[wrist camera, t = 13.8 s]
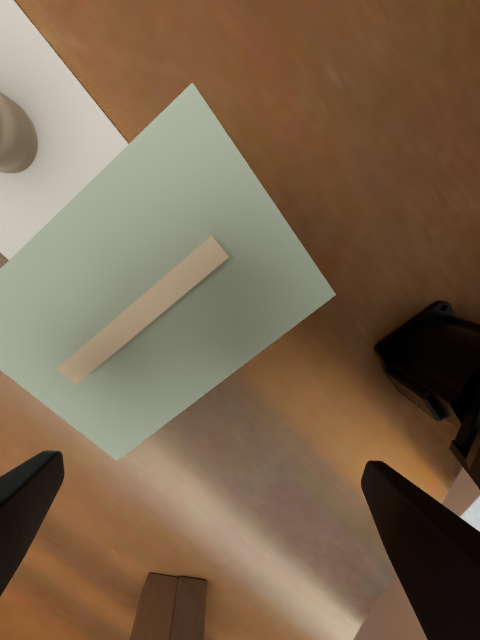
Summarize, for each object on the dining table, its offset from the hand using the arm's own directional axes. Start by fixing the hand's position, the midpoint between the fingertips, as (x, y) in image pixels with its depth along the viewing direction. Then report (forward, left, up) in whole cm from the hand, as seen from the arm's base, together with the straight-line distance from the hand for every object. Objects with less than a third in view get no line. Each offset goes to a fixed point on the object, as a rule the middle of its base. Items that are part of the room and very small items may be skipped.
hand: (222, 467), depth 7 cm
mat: (+2, -18, -12) cm, 22 cm away
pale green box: (+5, -8, -12) cm, 15 cm away
